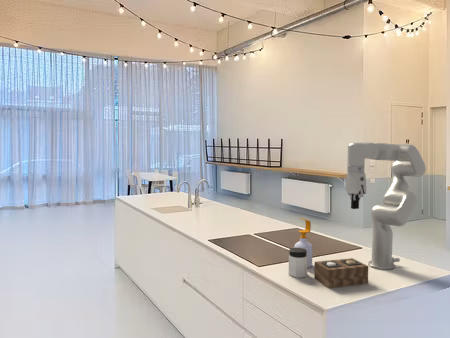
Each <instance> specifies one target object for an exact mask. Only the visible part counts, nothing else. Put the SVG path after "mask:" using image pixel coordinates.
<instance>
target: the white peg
mask: <svg viewBox="0 0 450 338" xmlns="http://www.w3.org/2000/svg"><path fill="white" fill-rule="evenodd" d="M327 265H329V266H335V265H336V263H333V262H327Z"/></svg>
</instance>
